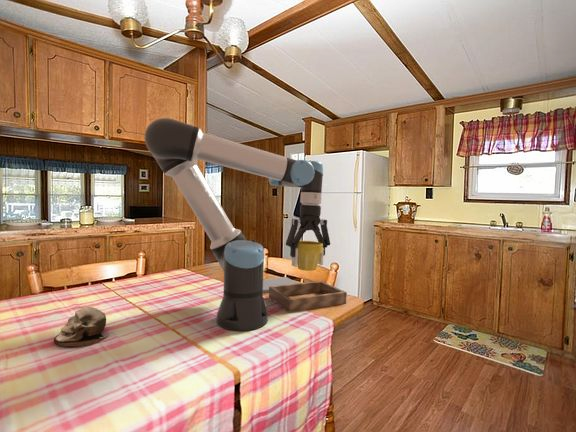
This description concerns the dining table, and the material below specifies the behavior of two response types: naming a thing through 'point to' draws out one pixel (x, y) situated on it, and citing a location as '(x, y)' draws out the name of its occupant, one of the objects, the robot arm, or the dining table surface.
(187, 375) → the dining table surface
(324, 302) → the walnut crate
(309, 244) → the plant pot
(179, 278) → the dining table surface
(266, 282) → the slate tray
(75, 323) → the skull
